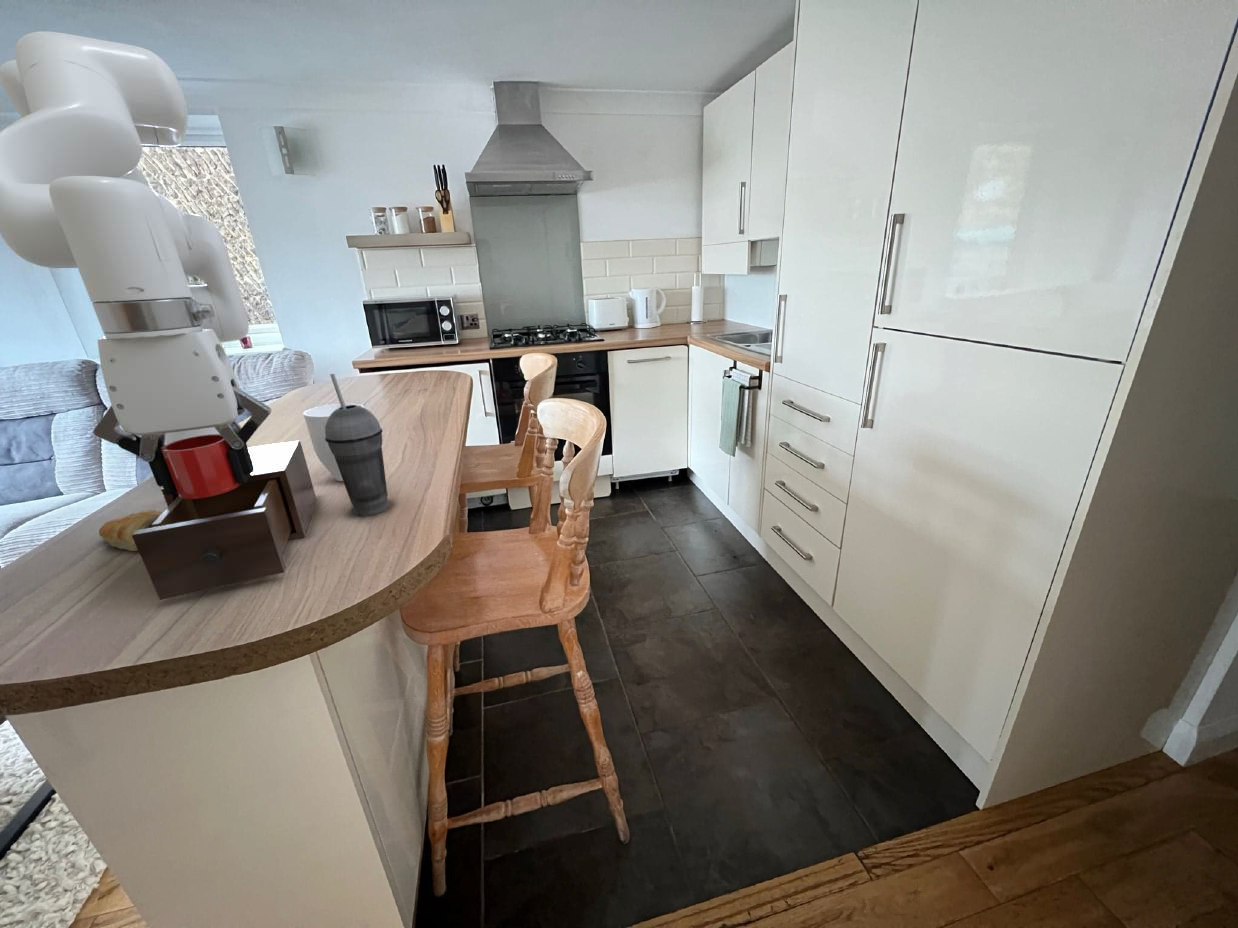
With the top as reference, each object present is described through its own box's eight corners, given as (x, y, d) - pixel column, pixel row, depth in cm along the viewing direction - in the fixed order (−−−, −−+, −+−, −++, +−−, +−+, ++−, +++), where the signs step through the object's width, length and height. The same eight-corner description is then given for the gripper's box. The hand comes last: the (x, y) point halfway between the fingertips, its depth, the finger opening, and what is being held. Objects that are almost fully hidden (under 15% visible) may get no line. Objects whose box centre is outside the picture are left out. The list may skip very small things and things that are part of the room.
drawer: (282, 578, 56) (262, 515, 54) (155, 606, 52) (126, 540, 50) (299, 526, 68) (283, 472, 65) (197, 545, 64) (175, 489, 61)
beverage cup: (377, 521, 71) (344, 379, 63) (332, 518, 72) (295, 379, 65) (408, 499, 77) (381, 368, 70) (366, 496, 79) (335, 368, 71)
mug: (373, 482, 84) (356, 412, 80) (314, 489, 82) (295, 418, 78) (385, 459, 95) (372, 396, 90) (334, 464, 93) (318, 401, 88)
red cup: (189, 484, 59) (172, 439, 57) (248, 474, 61) (233, 431, 59) (170, 503, 54) (151, 454, 52) (236, 492, 56) (219, 445, 54)
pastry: (85, 547, 66) (73, 522, 65) (140, 524, 73) (130, 500, 71) (140, 553, 64) (129, 527, 63) (192, 528, 71) (183, 504, 69)
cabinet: (304, 537, 67) (284, 470, 64) (188, 560, 63) (160, 489, 59) (316, 498, 79) (300, 440, 75) (219, 515, 74) (197, 454, 71)
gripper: (260, 311, 57) (302, 461, 63) (58, 322, 51) (128, 487, 57) (244, 316, 50) (293, 482, 57) (11, 329, 44) (96, 514, 51)
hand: (210, 483), depth 57 cm, fingers closed on red cup, 5 cm apart
